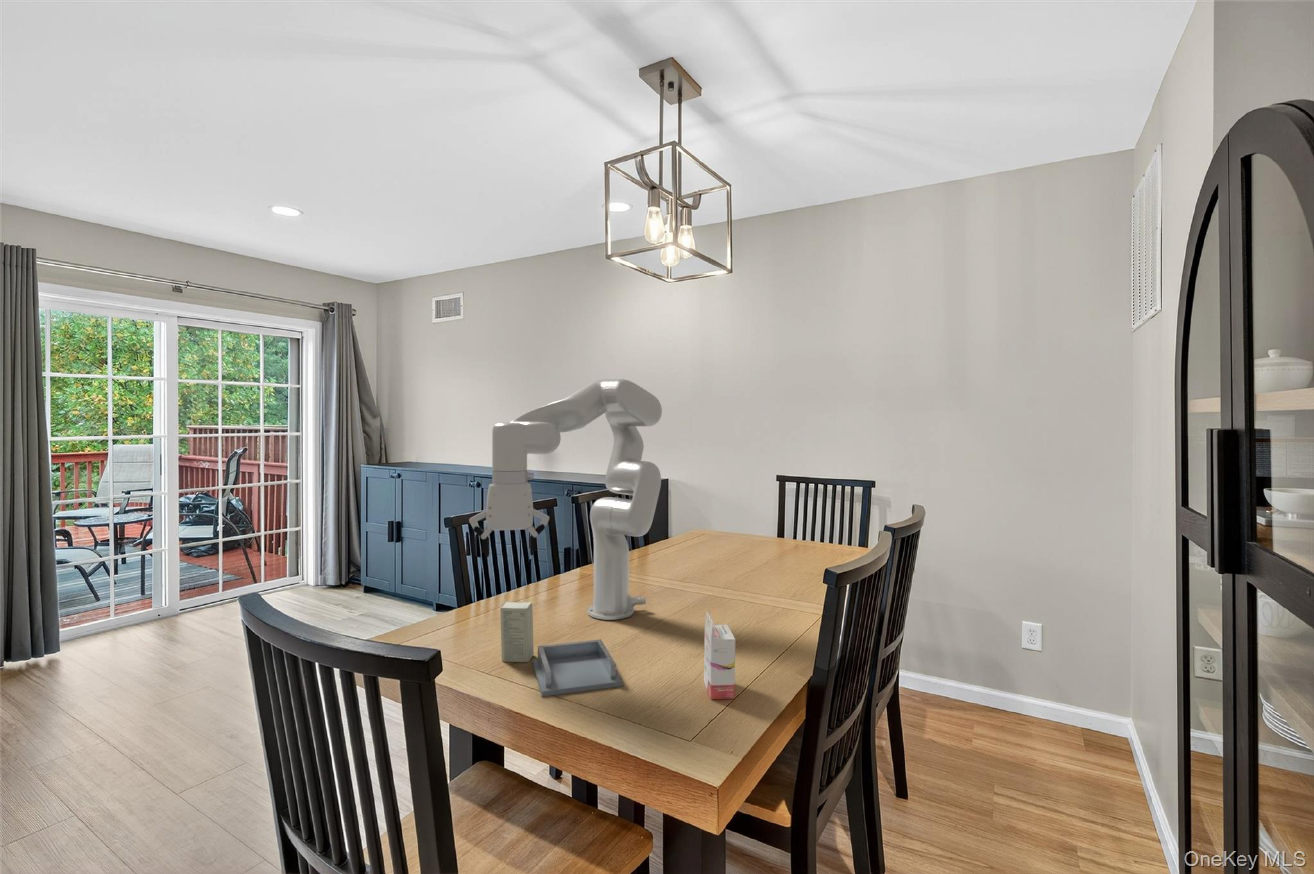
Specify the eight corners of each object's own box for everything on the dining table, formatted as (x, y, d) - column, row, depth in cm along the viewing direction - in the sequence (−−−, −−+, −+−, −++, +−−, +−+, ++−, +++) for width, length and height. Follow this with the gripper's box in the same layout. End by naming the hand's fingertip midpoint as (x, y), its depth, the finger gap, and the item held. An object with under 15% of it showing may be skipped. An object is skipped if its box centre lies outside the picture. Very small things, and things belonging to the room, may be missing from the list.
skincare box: (534, 655, 138) (533, 601, 137) (528, 663, 133) (527, 608, 133) (506, 653, 138) (506, 600, 138) (500, 661, 134) (499, 607, 133)
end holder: (604, 655, 138) (604, 638, 138) (622, 686, 122) (622, 666, 122) (532, 663, 133) (532, 645, 133) (541, 696, 118) (541, 676, 117)
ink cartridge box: (735, 699, 117) (736, 624, 117) (710, 700, 117) (711, 624, 116) (727, 680, 126) (728, 609, 125) (703, 680, 125) (704, 609, 125)
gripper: (548, 476, 141) (548, 549, 142) (470, 477, 137) (470, 552, 138) (550, 479, 134) (550, 557, 134) (467, 480, 130) (468, 560, 130)
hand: (509, 554), depth 136 cm, fingers open, 9 cm apart
